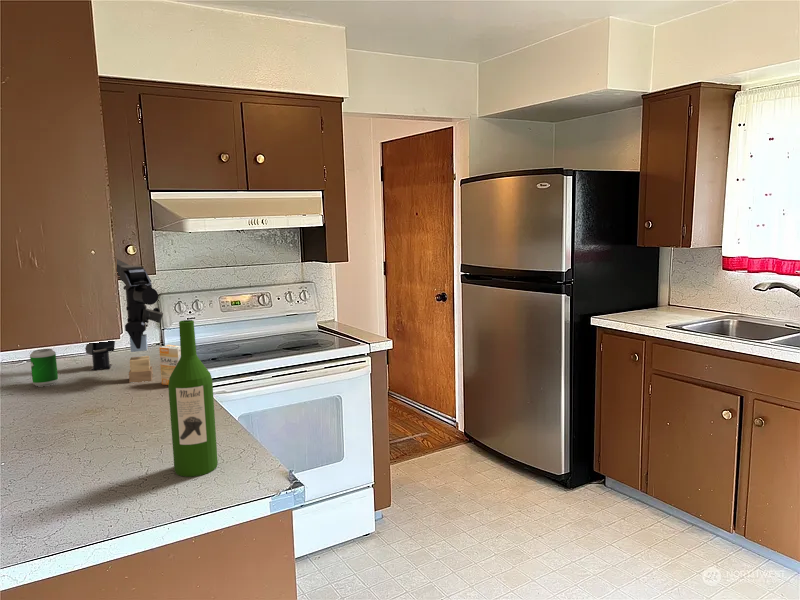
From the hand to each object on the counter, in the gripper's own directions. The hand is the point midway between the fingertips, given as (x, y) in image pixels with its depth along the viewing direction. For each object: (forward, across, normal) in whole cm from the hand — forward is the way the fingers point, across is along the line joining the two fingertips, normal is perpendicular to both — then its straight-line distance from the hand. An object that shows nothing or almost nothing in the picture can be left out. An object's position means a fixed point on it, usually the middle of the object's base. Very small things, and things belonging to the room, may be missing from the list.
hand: (139, 347), depth 204 cm
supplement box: (+12, -12, -11) cm, 20 cm away
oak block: (+8, 0, 0) cm, 8 cm away
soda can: (+12, +7, +31) cm, 34 cm away
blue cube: (+1, 0, 0) cm, 1 cm away
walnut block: (+12, 0, 0) cm, 12 cm away
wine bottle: (+12, -90, -17) cm, 92 cm away
